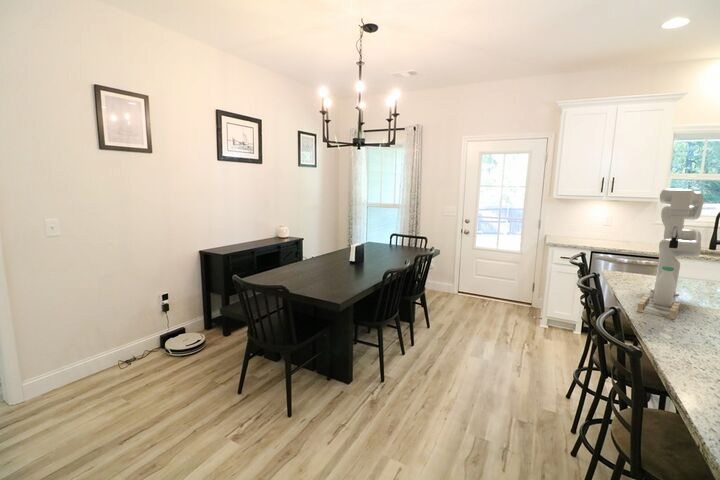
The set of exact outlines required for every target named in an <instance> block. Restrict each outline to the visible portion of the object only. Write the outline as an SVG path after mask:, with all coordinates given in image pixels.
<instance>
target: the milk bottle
mask: <svg viewBox="0 0 720 480" xmlns="http://www.w3.org/2000/svg"><path fill="white" fill-rule="evenodd" d="M673 271H674V268H673V267H669V266H663V267H662V273H661V275H660V276H659V277H658V279H657V281H656V280H655V281H656V285H655V284H654V287H655V291H654V292H653V298H652V302H653V303H658V304H663V305H668V306H673V304H674V296H675V295H674V291H675V280H674V277H673Z"/></svg>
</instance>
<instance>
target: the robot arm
mask: <svg viewBox="0 0 720 480" xmlns="http://www.w3.org/2000/svg"><path fill="white" fill-rule="evenodd" d="M704 197H705V196H704V194H703V193H702V192H701V191H695V190H693V189H690V188H689V189H688V188H664V189H662V190H661V191H660V193H659V202H660V203H661V204H668V205H665V206H663V207H662V209H661V213H660V216H661V217H660V218H661V219H660V220H661V223H662V224H663V227H664V231H663V239H661V241H659V244H658V254H659V255H658V263H657V270H656V276H655V281H654V286H653V287H650V291H652V292H653V293H654V291H655V285H656V281H657V279H658V277H659V276H660V275H661V273H662V267H663V266H669V267H673V268H674V271H673V277H674V280H675V291H674V296H679V295H680V292H679V291H677V289H678V288H677V287H678V282H679V275H680V269H681V262H680V261H679V260H678V259H677V257H681V258H691V259H692V258H693V259H695V258H698V257H699V256H700V254H701V251H702V233H701V232H700V231H699V230H697V229H692V228H684V227H685V226H684V224H685V220H689V221H690V220H691V221H693V220H694V221H695V220H698V219H699V218H700V217H701V214H702V210H703V205H704V201H705V198H704Z"/></svg>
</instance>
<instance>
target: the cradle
mask: <svg viewBox="0 0 720 480" xmlns="http://www.w3.org/2000/svg"><path fill="white" fill-rule="evenodd" d="M650 296H651V295H650V294H644V295H643V296H642V298H641V299H640V300H639V301H638V302H637V305H636V306H637V307H636V312H639V313H645V314H650V315H653V316H658V317H662V318H667V319H672V320H675V319H676V318H677V315H678V312H679V311H680V308H681V303H682V302H681V301H680V300H674V301H673V303H672V305H671V306H668V305H663V304H658V303H654V302H653V301H650V298H651V297H650Z"/></svg>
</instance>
